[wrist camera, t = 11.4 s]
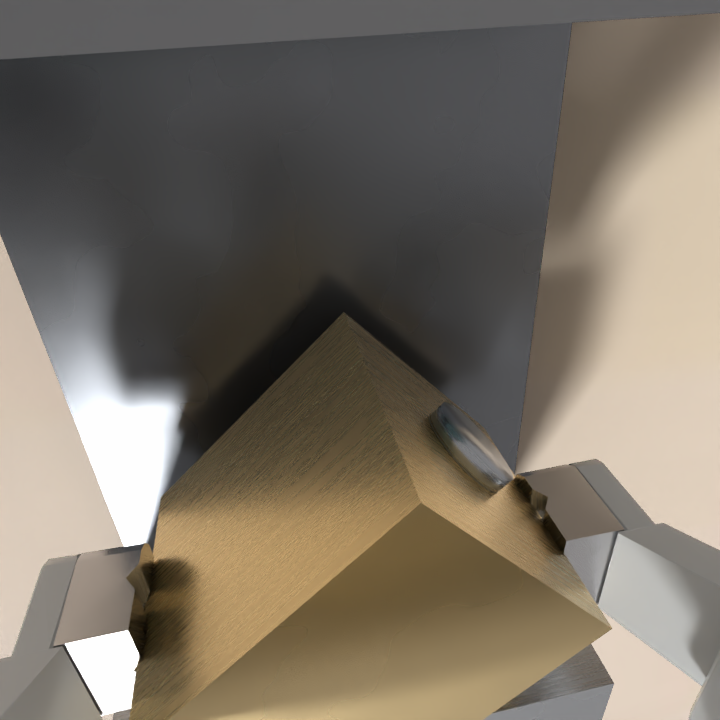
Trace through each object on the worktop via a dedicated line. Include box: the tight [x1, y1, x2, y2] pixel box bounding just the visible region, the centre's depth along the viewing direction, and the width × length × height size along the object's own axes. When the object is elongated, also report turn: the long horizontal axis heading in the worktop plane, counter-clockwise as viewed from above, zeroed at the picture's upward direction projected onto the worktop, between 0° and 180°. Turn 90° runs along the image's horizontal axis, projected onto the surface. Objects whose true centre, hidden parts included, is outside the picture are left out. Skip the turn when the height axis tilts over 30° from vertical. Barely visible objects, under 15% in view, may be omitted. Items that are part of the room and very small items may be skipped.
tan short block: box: [129, 312, 612, 720], centre depth 9 cm, size 5×4×4 cm
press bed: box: [0, 23, 614, 720], centre depth 9 cm, size 18×9×6 cm, turn 3°
